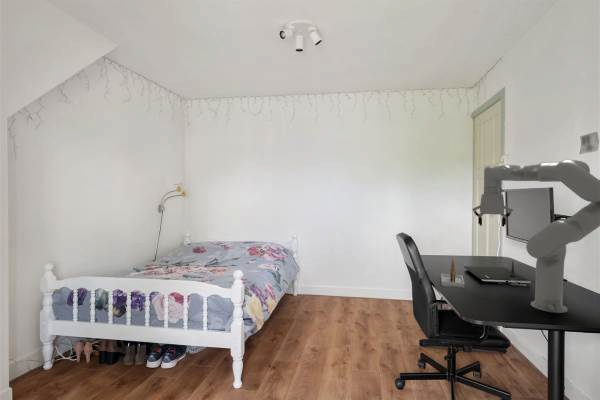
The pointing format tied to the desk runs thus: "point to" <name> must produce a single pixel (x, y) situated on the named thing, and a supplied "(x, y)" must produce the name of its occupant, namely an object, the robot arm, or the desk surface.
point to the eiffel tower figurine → (513, 277)
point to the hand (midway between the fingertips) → (491, 225)
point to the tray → (447, 282)
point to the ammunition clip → (452, 271)
